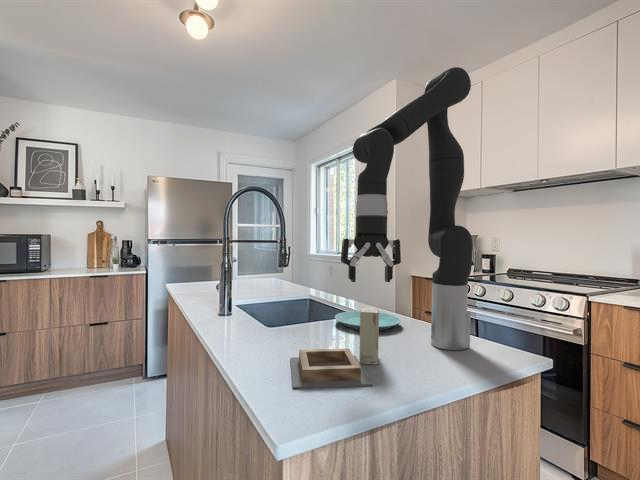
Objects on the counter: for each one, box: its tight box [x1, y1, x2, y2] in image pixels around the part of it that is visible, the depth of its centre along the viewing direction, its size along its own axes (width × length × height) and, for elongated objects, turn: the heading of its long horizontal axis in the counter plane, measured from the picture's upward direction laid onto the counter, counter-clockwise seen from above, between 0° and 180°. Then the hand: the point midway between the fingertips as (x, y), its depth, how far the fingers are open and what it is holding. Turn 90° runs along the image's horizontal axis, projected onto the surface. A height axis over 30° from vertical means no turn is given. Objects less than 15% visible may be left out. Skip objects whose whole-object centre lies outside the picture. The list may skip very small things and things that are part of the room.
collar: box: [298, 348, 361, 382], centre depth 75 cm, size 12×12×2 cm
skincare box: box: [359, 307, 380, 366], centre depth 82 cm, size 6×4×12 cm
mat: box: [289, 355, 374, 390], centre depth 75 cm, size 16×16×1 cm
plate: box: [334, 310, 402, 332], centre depth 114 cm, size 22×22×3 cm
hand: (370, 281), depth 82 cm, fingers open, 8 cm apart
